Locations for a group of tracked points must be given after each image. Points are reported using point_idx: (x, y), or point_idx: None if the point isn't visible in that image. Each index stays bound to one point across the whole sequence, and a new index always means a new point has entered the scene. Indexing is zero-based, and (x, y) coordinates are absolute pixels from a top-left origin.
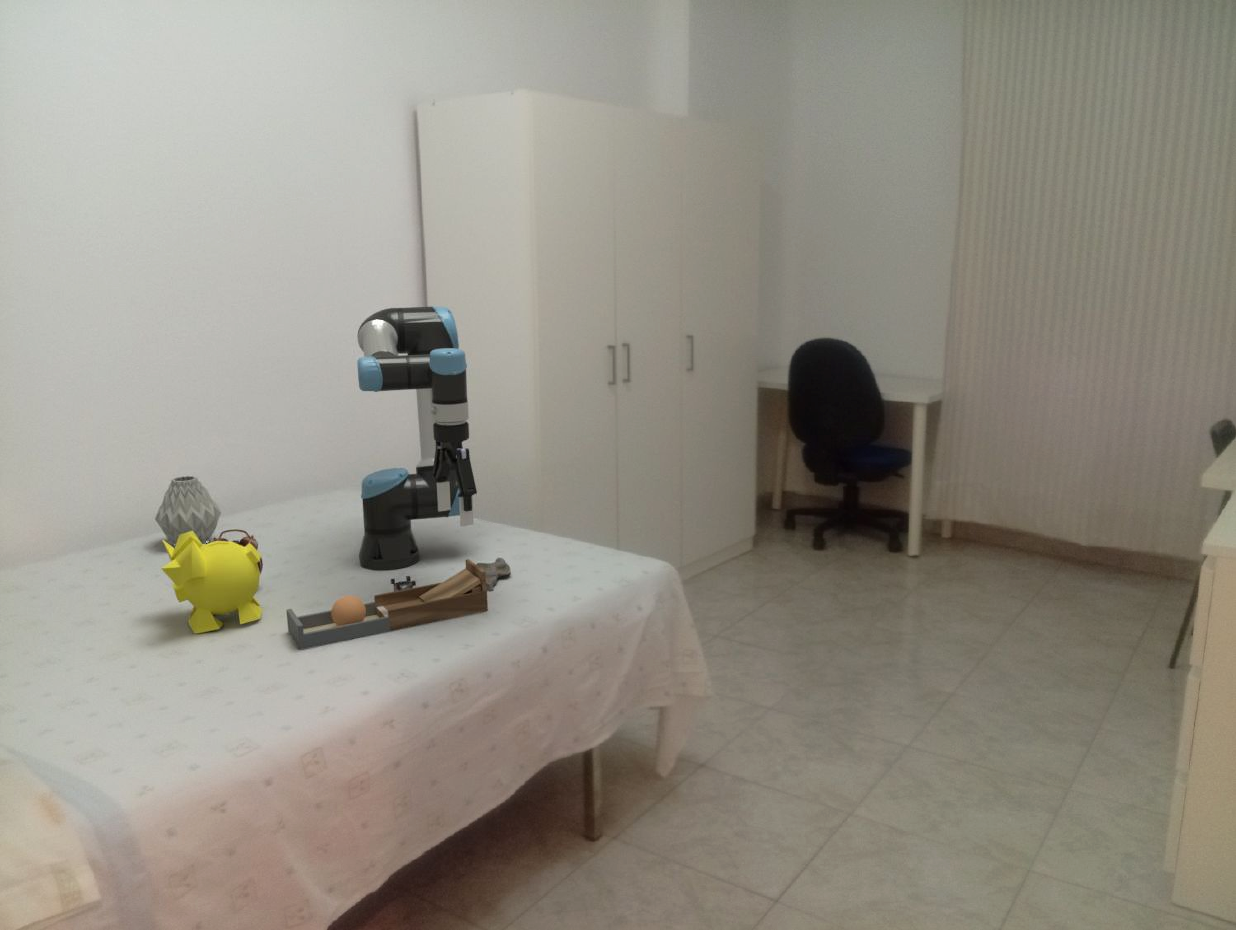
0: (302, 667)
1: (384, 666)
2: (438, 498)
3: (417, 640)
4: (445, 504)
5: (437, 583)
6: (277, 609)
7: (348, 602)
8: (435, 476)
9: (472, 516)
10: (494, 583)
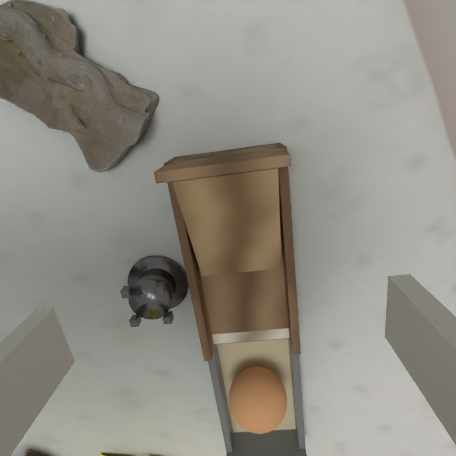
0: (363, 434)
1: None
2: (25, 429)
3: (359, 297)
4: (41, 358)
5: (181, 243)
6: (131, 437)
7: (276, 422)
8: None
9: (438, 307)
10: (125, 80)
